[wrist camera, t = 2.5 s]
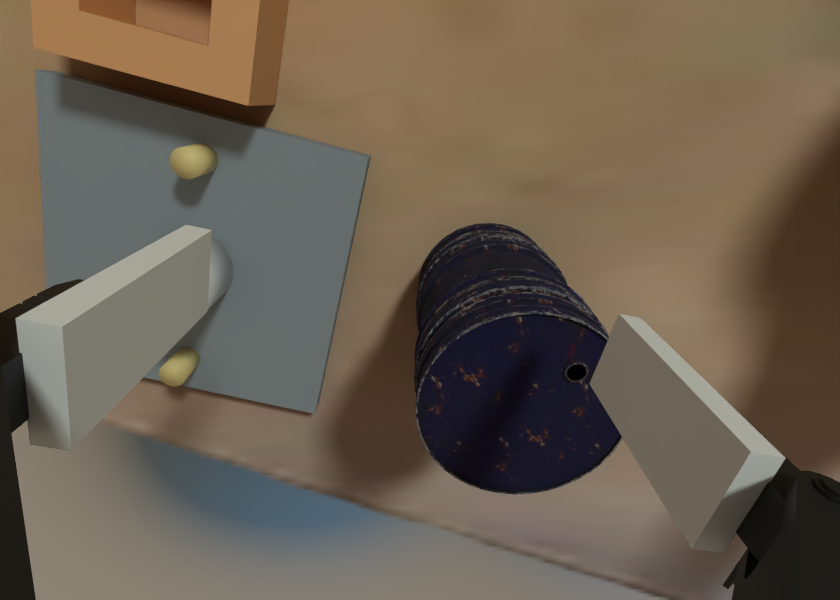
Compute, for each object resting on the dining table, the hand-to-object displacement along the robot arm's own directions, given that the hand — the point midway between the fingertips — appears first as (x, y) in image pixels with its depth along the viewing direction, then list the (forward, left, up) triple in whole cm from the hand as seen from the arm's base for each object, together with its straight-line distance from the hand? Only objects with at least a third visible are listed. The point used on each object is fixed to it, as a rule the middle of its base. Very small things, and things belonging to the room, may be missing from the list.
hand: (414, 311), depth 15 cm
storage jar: (+5, +6, -19) cm, 20 cm away
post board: (+8, -14, -19) cm, 24 cm away
